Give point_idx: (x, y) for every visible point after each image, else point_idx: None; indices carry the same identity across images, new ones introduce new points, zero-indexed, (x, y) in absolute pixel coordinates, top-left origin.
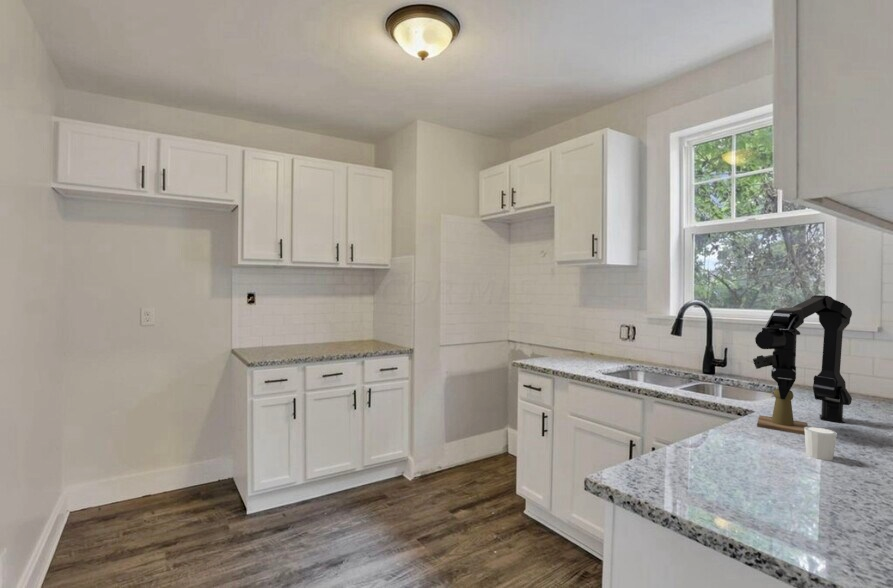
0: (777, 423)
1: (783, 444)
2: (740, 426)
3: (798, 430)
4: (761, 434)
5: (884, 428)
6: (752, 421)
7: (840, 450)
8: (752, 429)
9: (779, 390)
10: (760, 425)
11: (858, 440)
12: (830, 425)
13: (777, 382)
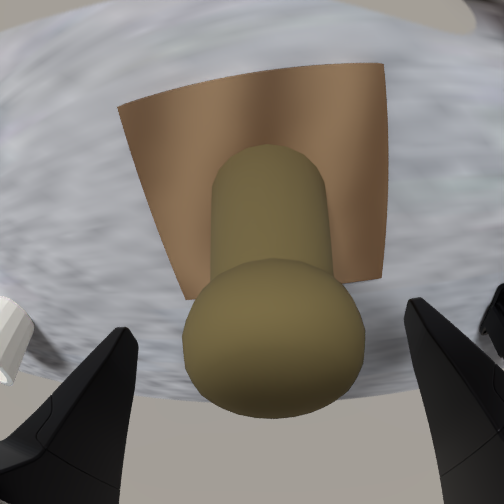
0: (213, 186)
1: (3, 250)
2: (59, 56)
3: (175, 272)
4: (24, 170)
5: None
6: (240, 43)
7: None
8: (57, 114)
9: (65, 384)
10: (125, 121)
11: None
12: None
13: (3, 442)
